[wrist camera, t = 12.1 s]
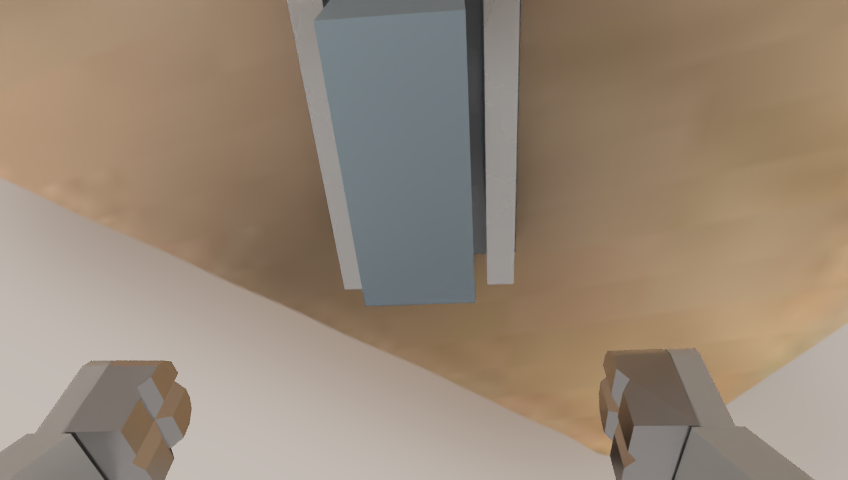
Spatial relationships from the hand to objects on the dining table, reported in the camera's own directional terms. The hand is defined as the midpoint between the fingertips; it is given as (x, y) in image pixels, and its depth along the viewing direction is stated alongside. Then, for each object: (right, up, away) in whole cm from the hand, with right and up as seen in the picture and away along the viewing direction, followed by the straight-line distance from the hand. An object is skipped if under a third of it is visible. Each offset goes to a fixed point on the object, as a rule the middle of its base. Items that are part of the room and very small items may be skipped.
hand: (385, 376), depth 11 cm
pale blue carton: (0, +8, +13) cm, 15 cm away
